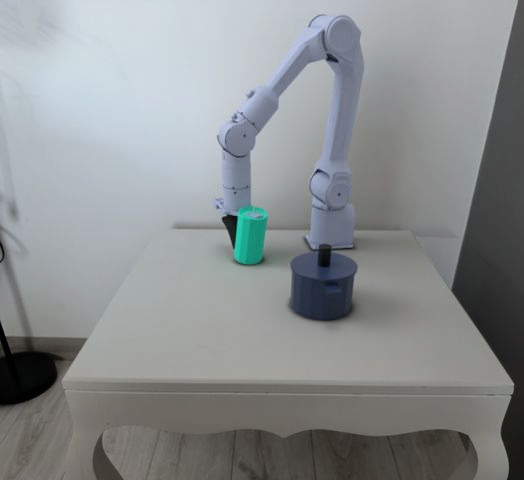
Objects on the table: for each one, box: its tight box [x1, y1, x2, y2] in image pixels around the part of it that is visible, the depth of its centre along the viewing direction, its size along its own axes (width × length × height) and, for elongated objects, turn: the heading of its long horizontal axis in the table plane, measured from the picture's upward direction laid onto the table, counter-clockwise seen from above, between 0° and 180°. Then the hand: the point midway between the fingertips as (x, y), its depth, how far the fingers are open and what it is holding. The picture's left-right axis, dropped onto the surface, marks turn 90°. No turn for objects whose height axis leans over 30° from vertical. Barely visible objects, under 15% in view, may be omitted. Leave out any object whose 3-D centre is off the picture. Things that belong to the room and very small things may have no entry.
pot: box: [290, 270, 356, 321], centre depth 91 cm, size 11×16×8 cm
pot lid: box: [289, 244, 359, 282], centre depth 88 cm, size 12×12×4 cm
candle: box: [233, 205, 269, 266], centre depth 106 cm, size 6×6×12 cm
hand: (238, 248), depth 111 cm, fingers closed
